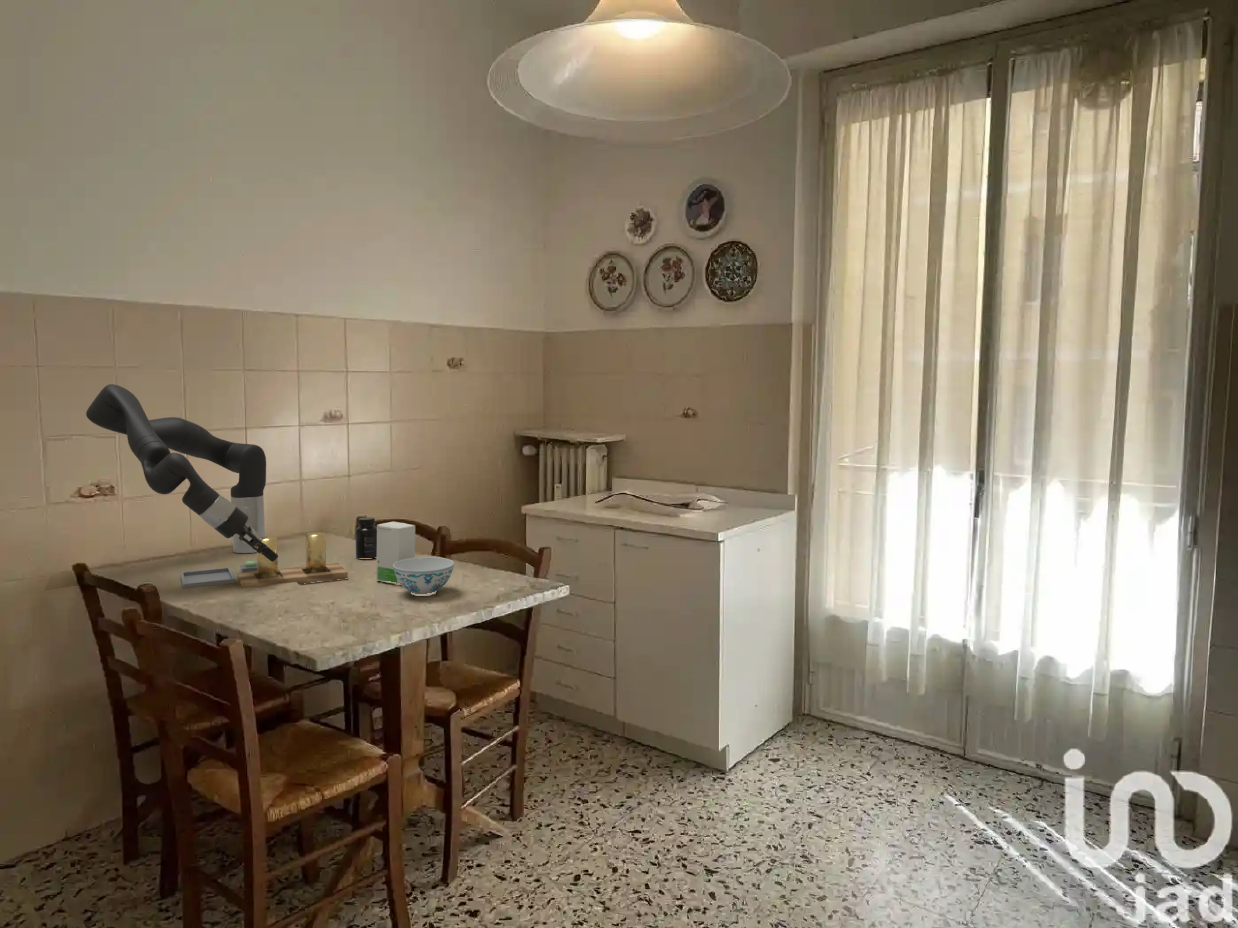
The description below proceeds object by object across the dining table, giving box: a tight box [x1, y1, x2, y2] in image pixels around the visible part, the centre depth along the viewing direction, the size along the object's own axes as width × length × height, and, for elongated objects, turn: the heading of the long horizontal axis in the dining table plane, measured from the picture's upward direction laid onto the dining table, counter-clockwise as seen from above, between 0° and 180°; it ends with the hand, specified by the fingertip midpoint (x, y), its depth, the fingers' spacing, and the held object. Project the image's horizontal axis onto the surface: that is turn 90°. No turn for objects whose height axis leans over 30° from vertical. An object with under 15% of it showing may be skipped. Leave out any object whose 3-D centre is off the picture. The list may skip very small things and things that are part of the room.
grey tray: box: [180, 567, 236, 589], centre depth 216 cm, size 14×12×2 cm
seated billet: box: [305, 531, 327, 574], centre depth 222 cm, size 5×5×12 cm
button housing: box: [239, 564, 257, 573], centre depth 225 cm, size 5×5×2 cm
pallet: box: [236, 562, 349, 588], centre depth 220 cm, size 12×26×2 cm, turn 120°
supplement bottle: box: [354, 516, 377, 559], centre depth 247 cm, size 7×7×12 cm
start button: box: [244, 560, 257, 567], centre depth 224 cm, size 3×3×1 cm
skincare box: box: [375, 521, 416, 583], centre depth 219 cm, size 8×7×16 cm
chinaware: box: [393, 556, 455, 594], centre depth 208 cm, size 15×15×8 cm
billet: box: [256, 535, 279, 579], centre depth 216 cm, size 5×5×12 cm
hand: (273, 555), depth 217 cm, fingers open, 8 cm apart
